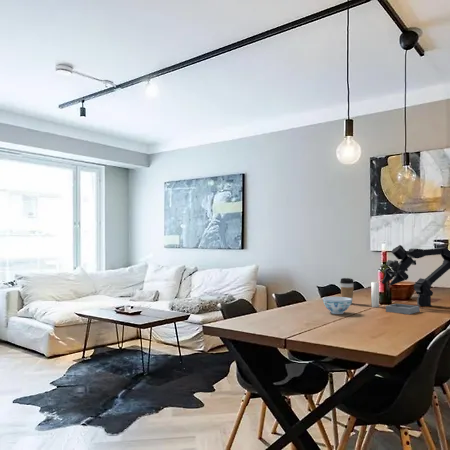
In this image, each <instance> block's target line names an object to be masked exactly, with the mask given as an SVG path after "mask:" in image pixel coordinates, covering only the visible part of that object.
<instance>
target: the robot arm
mask: <svg viewBox="0 0 450 450" xmlns="http://www.w3.org/2000/svg"><path fill="white" fill-rule="evenodd" d="M391 253H392V255H393V256H395V258H396V259H395V260H392V259H387V262H386V263H385V266H388V267H389V268H388V267H386V269H385V268H384V269H385V270H384V269H383V272H384V273H383V274H384V277H383V279H382V282H381V283H382V285H383V284H386V283H388V282H390V281H391V282H390V283H389V285H390V286H394V285H396V284H399V283H402V282H404V281H407V280H409V274H408V273H407V272H408V271H409V269H410V267H411V265H412V266H416V265H417V260H415V259H421V258H424V257H426V256H427V257H428V256H439V255H440V256H441V258H442V259H443V260H442V264H441V265H439V266H438V267H437V268H435V270H433V272H431V273H430V274H429V275H427V276H426V278H421V277H420V278H419V279H418V280H417V281H415V283H414V285H413V289H414V291H415V293H416V295H417V297H416V298H417V299H416V301H417V302H416V306H419V307H432V306H433V305H432V296H433V294H434V292H433V291H432V290H431V288H432V285H433V284H434V283H435V282H436V281H437V280H438V279H440V278H441V277H442V276H444V274H445V273H447V272H448V271H449V270H450V250H449V249H448V248H447V247H437V248H426V249H424V248H422V249H421V248H409V249H408V250H406V249H405V248H404V247H403V245H401V244H399V245H398V246H396V247H395V248H393V249H391ZM398 260H400V261H398Z"/></svg>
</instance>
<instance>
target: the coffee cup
mask: <svg viewBox="0 0 450 450" xmlns="http://www.w3.org/2000/svg"><path fill="white" fill-rule="evenodd" d="M339 283H340V294H341V296H340V297H347V298H351V299H352V301H351V304H350V305H353V299H354V298H353V297H354V288H355V287H354V284H355V281H354V279H353V278H351V277H350V278H348V277H347V278H346V277H343V278H340V282H339Z"/></svg>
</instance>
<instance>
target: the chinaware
mask: <svg viewBox="0 0 450 450" xmlns="http://www.w3.org/2000/svg"><path fill="white" fill-rule="evenodd" d="M322 301H323V304H324V306H325V308H326V309H327V310H328V311H330V314H333V315H342V314H344V312H345V311H347V310H348V309H349V308H350V306H351V305H352V304H351V301H352V302H353V299H351V298H347V297H342V296H324V297H322Z"/></svg>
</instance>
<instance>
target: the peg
mask: <svg viewBox="0 0 450 450" xmlns="http://www.w3.org/2000/svg"><path fill="white" fill-rule="evenodd" d="M379 283H380V282H376V281H371V284H370V285H371V286H370V287H371V289H370V291H371V292H370V293H371V308H379V307H380V305H379V304H380V303H379V301H380V300H379V299H380V297H379V295H380V293H379V291H380V289H379V285H380V284H379Z"/></svg>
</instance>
